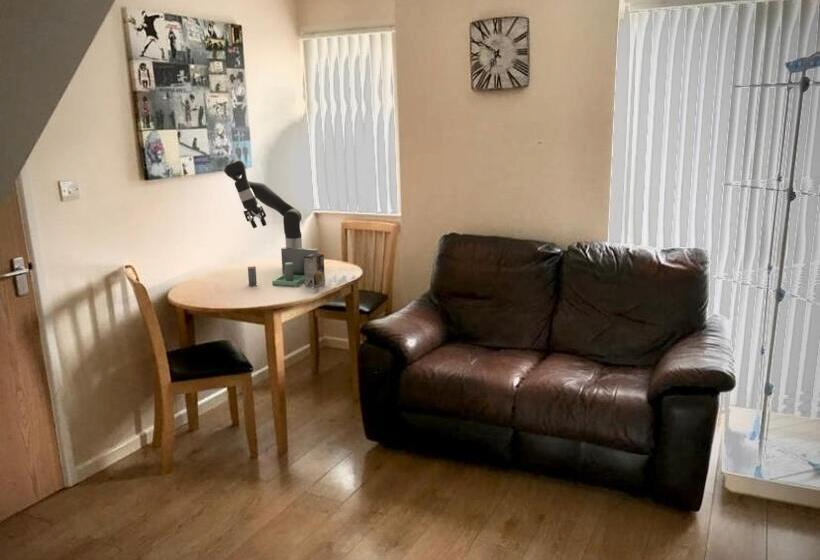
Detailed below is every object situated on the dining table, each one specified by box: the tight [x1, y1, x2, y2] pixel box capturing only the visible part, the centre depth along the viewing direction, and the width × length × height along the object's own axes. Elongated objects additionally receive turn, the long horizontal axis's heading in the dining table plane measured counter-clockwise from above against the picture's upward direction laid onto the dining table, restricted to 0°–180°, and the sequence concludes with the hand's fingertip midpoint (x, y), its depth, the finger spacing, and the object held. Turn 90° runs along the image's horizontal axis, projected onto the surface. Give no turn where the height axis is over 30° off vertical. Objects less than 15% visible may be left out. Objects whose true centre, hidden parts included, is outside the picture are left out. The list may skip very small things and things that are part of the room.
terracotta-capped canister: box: [247, 265, 258, 286], centre depth 349 cm, size 4×4×10 cm
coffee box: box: [304, 252, 326, 289], centre depth 347 cm, size 9×6×16 cm
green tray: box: [271, 273, 305, 287], centre depth 354 cm, size 14×14×2 cm
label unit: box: [280, 246, 319, 276], centre depth 363 cm, size 8×20×16 cm, turn 76°
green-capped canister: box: [285, 262, 294, 281], centre depth 353 cm, size 4×4×10 cm
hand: (260, 226), depth 358 cm, fingers open, 8 cm apart
